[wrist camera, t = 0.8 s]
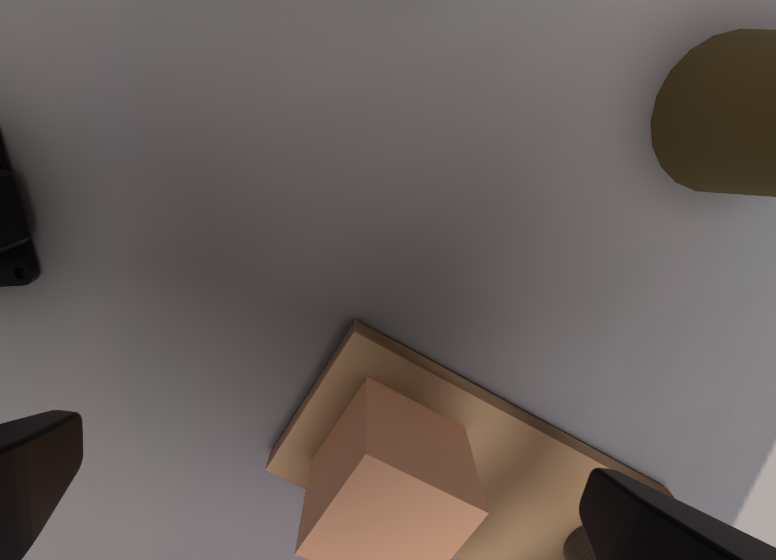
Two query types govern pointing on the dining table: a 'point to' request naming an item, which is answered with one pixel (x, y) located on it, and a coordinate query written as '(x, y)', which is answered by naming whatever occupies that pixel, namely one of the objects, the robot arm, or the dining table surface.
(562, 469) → the wooden base with cylinder
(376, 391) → the cube
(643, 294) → the dining table surface
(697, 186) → the cork
